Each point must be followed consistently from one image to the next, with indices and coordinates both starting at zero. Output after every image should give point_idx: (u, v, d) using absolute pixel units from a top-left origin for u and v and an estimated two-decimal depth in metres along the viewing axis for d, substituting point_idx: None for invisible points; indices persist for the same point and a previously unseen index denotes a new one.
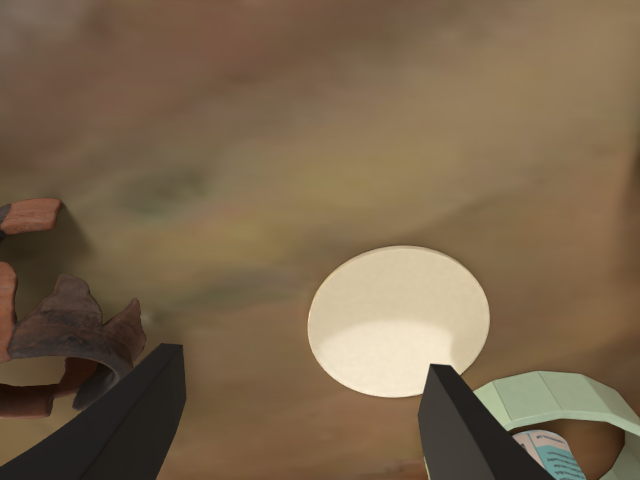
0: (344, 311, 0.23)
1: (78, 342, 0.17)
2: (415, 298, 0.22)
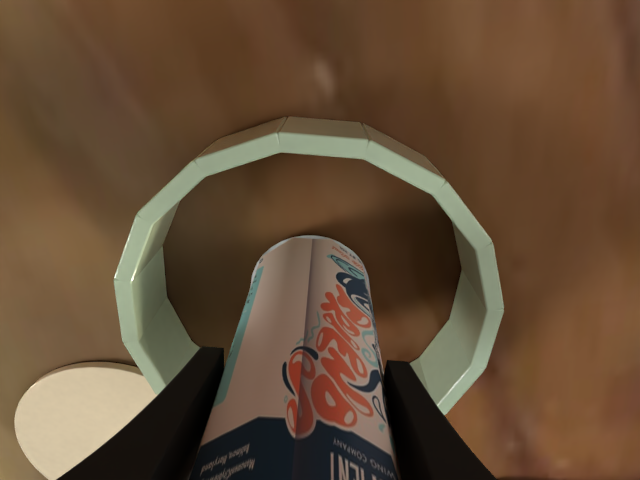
0: None
1: None
2: (73, 433, 0.21)
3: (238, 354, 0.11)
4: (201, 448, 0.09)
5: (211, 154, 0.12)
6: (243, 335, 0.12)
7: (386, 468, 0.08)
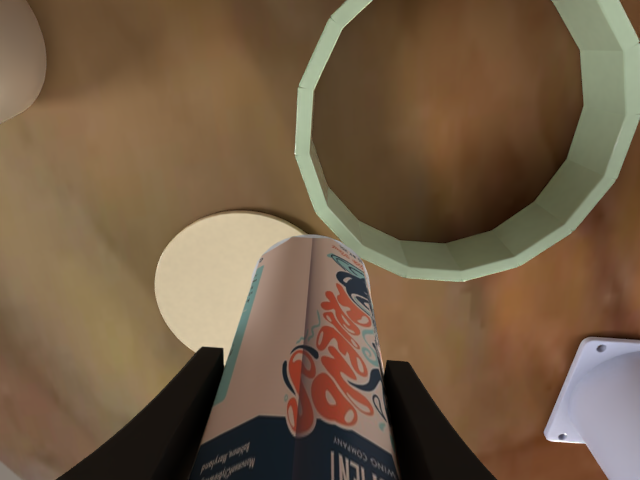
0: (229, 342, 0.24)
1: None
2: (208, 286, 0.23)
3: (238, 353, 0.11)
4: (201, 447, 0.08)
5: None
6: (243, 334, 0.12)
7: (386, 467, 0.08)
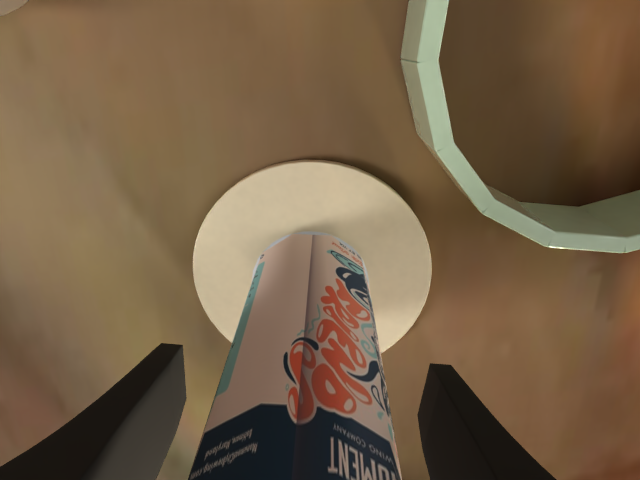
0: None
1: None
2: None
3: (240, 345, 0.11)
4: (205, 434, 0.09)
5: None
6: (245, 327, 0.12)
7: (384, 453, 0.08)
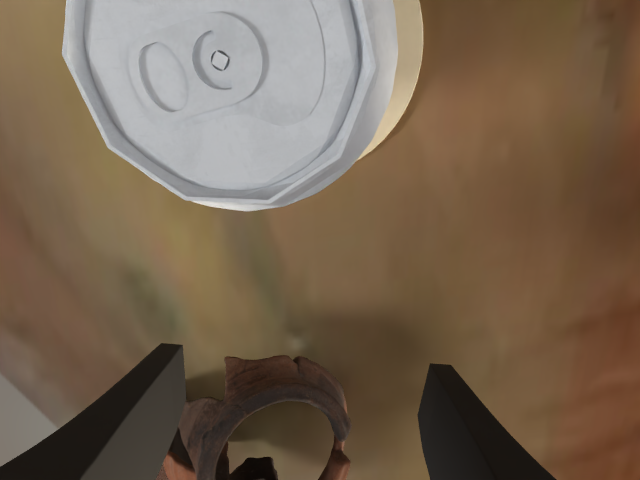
0: None
1: (211, 431, 0.17)
2: None
3: None
4: None
5: None
6: None
7: None
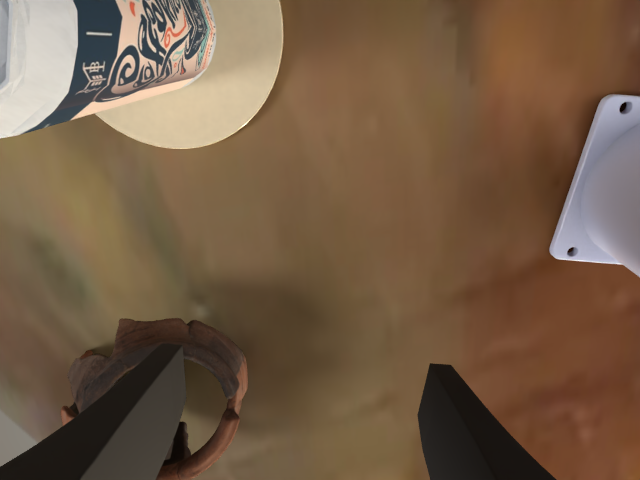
0: (146, 104, 0.19)
1: (92, 383, 0.18)
2: None
3: None
4: None
5: None
6: None
7: None
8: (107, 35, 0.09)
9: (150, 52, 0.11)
